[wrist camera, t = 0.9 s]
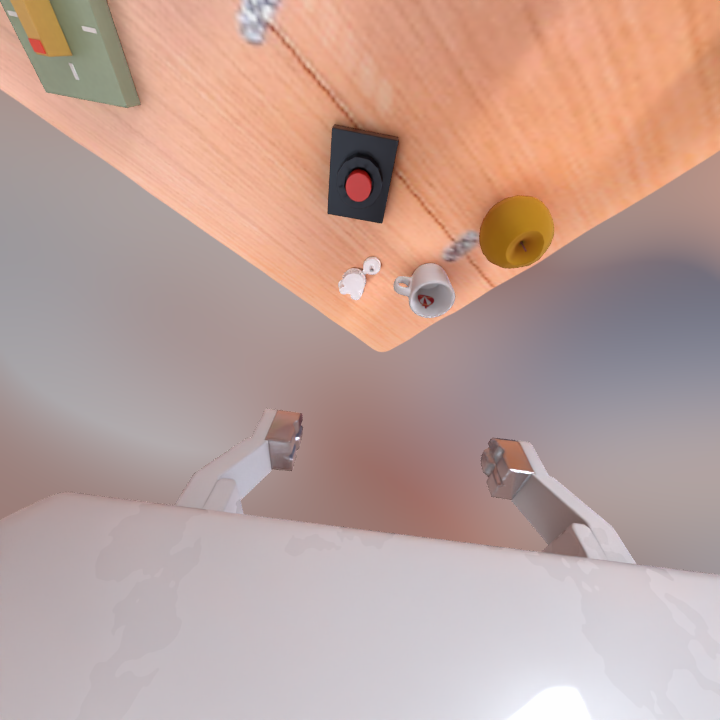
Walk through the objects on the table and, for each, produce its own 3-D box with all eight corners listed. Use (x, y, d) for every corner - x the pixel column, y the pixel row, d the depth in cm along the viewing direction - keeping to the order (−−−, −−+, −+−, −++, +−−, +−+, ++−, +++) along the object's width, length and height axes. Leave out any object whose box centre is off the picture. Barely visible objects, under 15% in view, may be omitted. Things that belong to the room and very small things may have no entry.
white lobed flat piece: (376, 298, 60) (375, 304, 58) (335, 294, 60) (334, 300, 58) (381, 257, 53) (381, 263, 51) (336, 252, 53) (334, 258, 51)
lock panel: (-20, -88, 28) (-53, -99, 26) (85, -64, 29) (61, -73, 27) (63, 89, 38) (44, 92, 36) (141, 104, 38) (126, 108, 36)
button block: (334, 124, 39) (330, 130, 36) (398, 137, 39) (399, 143, 37) (329, 208, 47) (325, 218, 44) (382, 218, 47) (382, 228, 45)
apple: (551, 200, 44) (587, 234, 36) (505, 254, 51) (526, 292, 43) (501, 171, 41) (528, 201, 34) (460, 232, 48) (473, 268, 40)
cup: (389, 287, 57) (389, 312, 52) (398, 251, 52) (399, 274, 46) (440, 296, 58) (445, 321, 53) (455, 260, 52) (462, 285, 47)
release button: (348, 167, 39) (346, 170, 38) (373, 171, 39) (373, 175, 38) (345, 195, 42) (344, 199, 41) (369, 199, 42) (368, 203, 41)
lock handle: (29, -17, 29) (-4, -23, 27) (43, -14, 29) (12, -19, 27) (60, 53, 33) (34, 54, 31) (73, 56, 33) (47, 57, 31)
